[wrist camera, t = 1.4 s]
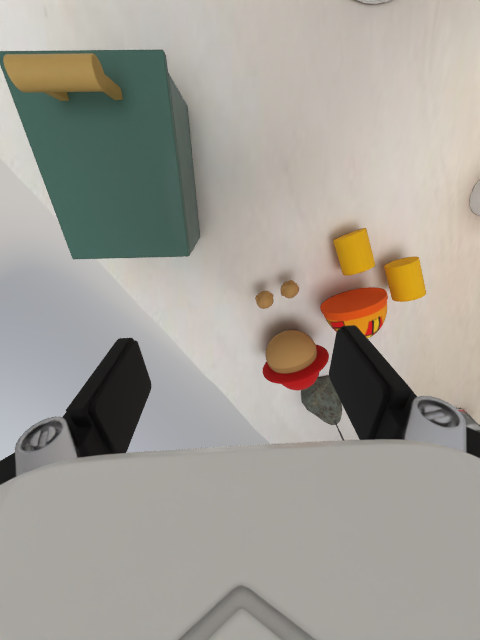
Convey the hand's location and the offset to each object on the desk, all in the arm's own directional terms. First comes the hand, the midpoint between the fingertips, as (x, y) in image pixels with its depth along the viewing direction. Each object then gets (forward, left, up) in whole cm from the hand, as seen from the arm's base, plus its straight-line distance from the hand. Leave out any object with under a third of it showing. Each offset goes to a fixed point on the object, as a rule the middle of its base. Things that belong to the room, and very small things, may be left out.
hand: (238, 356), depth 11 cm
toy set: (+9, +14, -25) cm, 30 cm away
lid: (-8, -10, -16) cm, 21 cm away
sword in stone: (+30, +17, -25) cm, 43 cm away
